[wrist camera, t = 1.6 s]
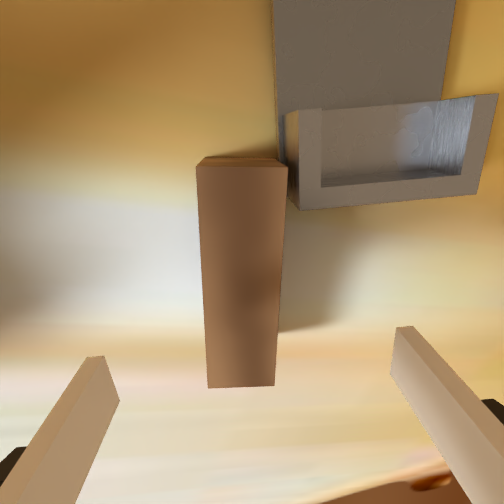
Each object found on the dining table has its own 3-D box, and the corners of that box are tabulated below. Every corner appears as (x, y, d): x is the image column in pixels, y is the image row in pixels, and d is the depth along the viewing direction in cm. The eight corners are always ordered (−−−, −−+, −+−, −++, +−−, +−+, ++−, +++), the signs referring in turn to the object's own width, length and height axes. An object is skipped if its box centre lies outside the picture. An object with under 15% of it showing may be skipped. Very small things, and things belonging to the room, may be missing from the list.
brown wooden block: (212, 336, 27) (207, 388, 22) (205, 157, 21) (196, 166, 16) (265, 334, 28) (274, 386, 22) (273, 158, 21) (288, 167, 16)
